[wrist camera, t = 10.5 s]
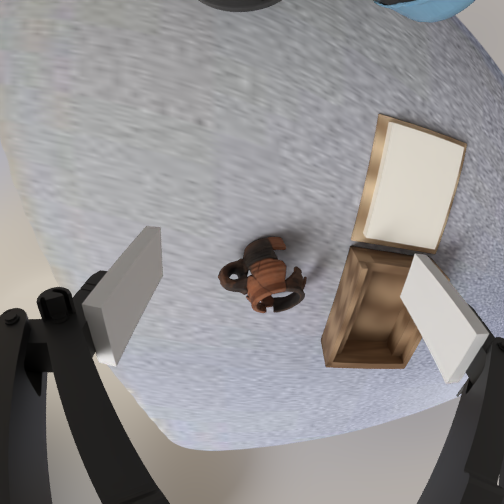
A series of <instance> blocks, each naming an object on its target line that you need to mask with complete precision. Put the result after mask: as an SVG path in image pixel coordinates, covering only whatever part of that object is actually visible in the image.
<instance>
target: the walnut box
mask: <svg viewBox="0 0 504 504" xmlns="http://www.w3.org/2000/svg"><path fill="white" fill-rule="evenodd" d="M413 258H414V256H412V255H406V254H399V253H393V252H387V251H380V250H374V249H367V248H360V247H354V246H350V249H349V253H348V256H347V260H346V263H345V266H344V270H343V273H342V277H341V280H340V283H339V286H338V290H337V293H336V296H335V299H334V302H333V305H332V308H331V311H330V314H329V317H328V320H327V323H326V326H325V329H324V332H323V335H322V338H321V344H322V349H323V355H324V360H325V366H326V367H333V368H363V369H404V368H405V367H406V365H407V363H408V362H409V360H410V358H411V356H412V355H413V353H414V351H415V349H416V348H417V346H418V344H419V342H420V340H421V339H422V335H421V333H420V332H419V330H418V328H417V326H416V324H415V322H414V321H413V319H412V317H411V315H410V313H409V312H408V310H407V308H406V306H405V305H404V303H403V301H402V299H401V298H400V295H401V293H402V290H403V287H404V284H405V282H406V279H407V276H408V273H409V270H410V267H411V264H412V261H413ZM430 260H431V261H432V262H433V263H434V264H435V265H436V266H437V268H438V269H439V270H440V271H441V272H442V273H443V275H444V276H445V277H446V278H447V279H448V281H450V279H449V278H448V277H447V276H446V274H445V273H444V272H443V271H442V270H441V269H440V268H439V266H438V265H437V264H436V263H435V262H434V261H433V260H432V259H431V258H430Z"/></svg>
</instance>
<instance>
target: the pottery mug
mask: <svg viewBox="0 0 504 504" xmlns="http://www.w3.org/2000/svg"><path fill="white" fill-rule="evenodd" d="M285 249H286V245H285V244H284V242H283V240H282V238H280V237H268V238H262V239H258V240H256V241H254V242H252V243H250V244H249V245H248V246H247V247H246V248H245V252H244V255H243V259H239V260H238V261H235V262H231V263H229V264H227V265H226V266H224V267H223V268H222V269H221V271H220V272H219V275H218V278H219V280H220V284H221V285H222V286H223V287H224V288H225V289H226V290H229V291H233V292H240V293H242V294H244V295H245V294H248V295H247V296H246V298H247V299H248V300H249V301H250V302H251V304H252V305H251V306H252V308H253V310H254V311H256V312H260V313H265V312H266V307H273V309H274V312H281V311H285V310H287V309H290V308H292V307H294V306H295V305H297V304H299V303H300V302H301V301H302V300H303V299H304V297H305V293H304V291H303V289H304V287H305V284H306V279H307V277H304V279H303V276H302V274H301V273H302V271H301V269H300V268H298V267H294V272H293V273H292V274H291V276H290V277H289V278H287V279H286V280H285V277H286V265H285V263H284V262H283V261H281V260H278V258H277V256H276V254H275V252H274V251H273V250H285ZM249 270H250V272H251V274H252V275H250V276H248V277H247V274H248V271H249ZM232 274H236V275H237V276H238V279H235V280H233V279H230V278H229V277H230V276H231V275H232ZM285 291H289V292H293V293H292V294H290V295H288V296H286V297H277V298H273V297H272V296H271V295H272V294H275V293H279V292H285ZM260 301H261V303H260Z"/></svg>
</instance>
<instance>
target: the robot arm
mask: <svg viewBox="0 0 504 504" xmlns="http://www.w3.org/2000/svg"><path fill="white" fill-rule="evenodd" d="M199 1H200V2H202V3H204V4H206V5H208V6H210V7H212V8H215V9H219V10H223V11H230V12H248V11H254V10H259V9H263V8H266V7H269V6H271V5H274V4H276V3H278V2H279V1H281V0H199ZM373 1H374V3H376V4H378V5H379V6H382V7H385V8H390V9H392V10H394V11H396V12H398V13H400V14H402V15H404V16H406V17H408V18H410V19H412V20H415V21H418V22H438V21H442V20H445V19H448V18H450V17H452V16H454V15H456V14H458V13H459V12H461V11H462V10H464V9H465V8H467V7H468V6H469V5H470V4H472V3H473V2H474V1H475V0H373ZM162 277H163V267H162V248H161V227H151V226H146V227H145V228H144V229H143V230H142V232H141V233H140V234H139V235H138V236H137V237H136V238H135V240H134V241H133V242H132V243H131V244H130V245H129V247H128V248H127V249H126V250H125V251H124V252H123V254H122V255H121V256H120V257H119V258H118V260H117V261H116V262H115V263H114V264H113V266H112V267H111V268H110V269H109V270H108V271H101V270H100V271H98V272H97V273H95V274H93V275H92V276H91V277H90V278H89V279H88V280H87V281H86V282H85V284H84V285H83V286H82V287H81V289H80V290H79V291H78V292H77V293H76V294H75V296H74V297H73V298H72V294H71V292H70V291H69V290H68V289H66V288H63V287H55V288H51V289H48V290H46V291H44V292H43V293H41V294H40V296H39V297H38V298H37V305H38V309H39V311H40V314H41V317H42V319H28V317H27V314H26V312H25V311H24V310H22V309H20V308H13V309H9V310H7V311H5V312H4V313H3V314H2V315H0V504H52V498H51V491H50V483H49V473H48V462H47V446H46V445H47V444H46V389H47V372H53V373H54V377H55V380H56V384H57V388H58V391H59V395H60V399H61V402H62V405H63V409H64V412H65V415H66V418H67V421H68V424H69V427H70V430H71V432H72V435H73V438H74V441H75V443H76V446H77V449H78V451H79V454H80V456H81V459H82V461H83V463H84V466H85V468H86V470H87V473H88V475H89V477H90V479H91V481H92V484H93V486H94V488H95V490H96V492H97V494H98V496H99V498H100V500H101V502H102V504H170V503H169V502H168V500H167V499H166V497H165V496H164V494H163V493H162V492H161V490H160V489H159V488H158V486H157V485H156V483H155V482H154V480H153V479H152V477H151V476H150V474H149V472H148V471H147V469H146V467H145V466H144V464H143V462H142V461H141V459H140V457H139V456H138V454H137V452H136V450H135V448H134V447H133V445H132V443H131V441H130V440H129V437H128V436H127V434H126V432H125V430H124V428H123V426H122V424H121V422H120V420H119V418H118V416H117V414H116V412H115V410H114V408H113V406H112V403H111V401H110V399H109V397H108V395H107V392H106V390H105V388H104V386H103V383H102V381H101V379H100V376H99V374H98V371H97V369H96V366H95V364H94V361H93V359H92V357H93V355H94V353H95V352H96V355H97V358H98V361H99V362H100V363H104V364H108V365H112V366H116V367H117V365H118V362H119V360H120V358H121V356H122V354H123V352H124V350H125V348H126V346H127V344H128V342H129V340H130V338H131V336H132V334H133V332H134V330H135V328H136V326H137V324H138V322H139V320H140V318H141V316H142V314H143V312H144V310H145V308H146V307H147V305H148V303H149V301H150V299H151V297H152V295H153V293H154V291H155V289H156V288H157V286H158V284H159V282H160V280H161V278H162ZM400 298H401V299H402V301H403V303H404V305H405V306H406V308H407V310H408V312H409V313H410V315H411V317H412V319H413V321H414V322H415V324H416V326H417V328H418V330H419V332H420V333H421V335H422V337H423V339H424V341H425V343H426V345H427V347H428V349H429V351H430V353H431V354H432V356H433V358H434V360H435V362H436V364H437V366H438V368H439V370H440V373H441V375H442V377H443V379H444V381H445V383H446V384H451V383H458V382H459V381H460V380H461V378H462V377H463V376H464V374H465V373H467V375H468V377H469V378H468V380H467V381H466V383H465V384H464V385H463V387H462V388H461V390H460V391H459V392H458V394H457V395H456V396H457V397H458V396H459V395H460V394H462V395H461V399H460V402H459V405H458V408H457V411H456V414H455V417H454V420H453V423H452V426H451V429H450V431H449V434H448V437H447V439H446V442H445V444H444V447H443V449H442V452H441V454H440V457H439V459H438V461H437V464H436V466H435V468H434V470H433V473H432V475H431V477H430V479H429V481H428V483H427V485H426V487H425V489H424V491H423V493H422V495H421V497H420V499H419V500H418V502H417V504H504V338H501V337H496V338H495V337H494V336H493V334H492V333H491V332H490V330H489V329H488V327H487V326H486V325H485V323H484V322H483V321H482V319H481V318H480V317H479V316H478V314H477V313H476V311H475V310H474V309H473V308H472V307H471V306H470V305H469V304H467V303H466V302H465V300H464V299H463V298H462V297H461V295H460V294H459V293H458V292H457V290H456V289H455V288H454V287H453V285H452V284H451V283H450V282H449V281H448V279H447V278H446V277H445V276H444V275H443V273H442V272H441V271H440V270H439V269H438V268H437V266H436V265H435V264H434V263H433V262H432V261H431V260H430V258H429V257H428V256H427V255H423V254H415V255H414V258H413V261H412V264H411V267H410V270H409V273H408V276H407V279H406V282H405V284H404V287H403V290H402V293H401V295H400ZM499 473H500V476H499ZM498 477H499V486H498V485H497V481H498Z"/></svg>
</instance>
